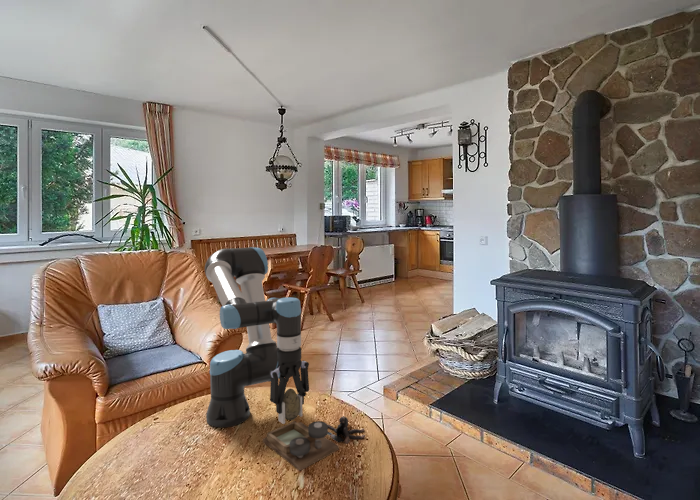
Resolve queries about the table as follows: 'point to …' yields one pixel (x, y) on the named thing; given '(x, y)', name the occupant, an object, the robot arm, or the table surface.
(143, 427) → the table surface
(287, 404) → the decorative egg
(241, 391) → the robot arm
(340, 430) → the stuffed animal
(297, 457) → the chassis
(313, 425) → the wheel
